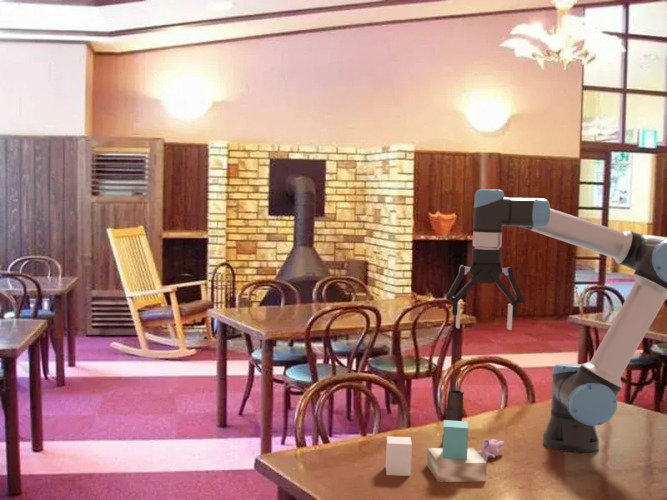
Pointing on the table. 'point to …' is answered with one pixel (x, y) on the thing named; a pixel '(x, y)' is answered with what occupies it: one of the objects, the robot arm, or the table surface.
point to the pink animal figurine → (490, 449)
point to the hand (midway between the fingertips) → (483, 328)
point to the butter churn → (454, 400)
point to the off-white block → (398, 456)
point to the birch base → (456, 466)
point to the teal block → (455, 439)
